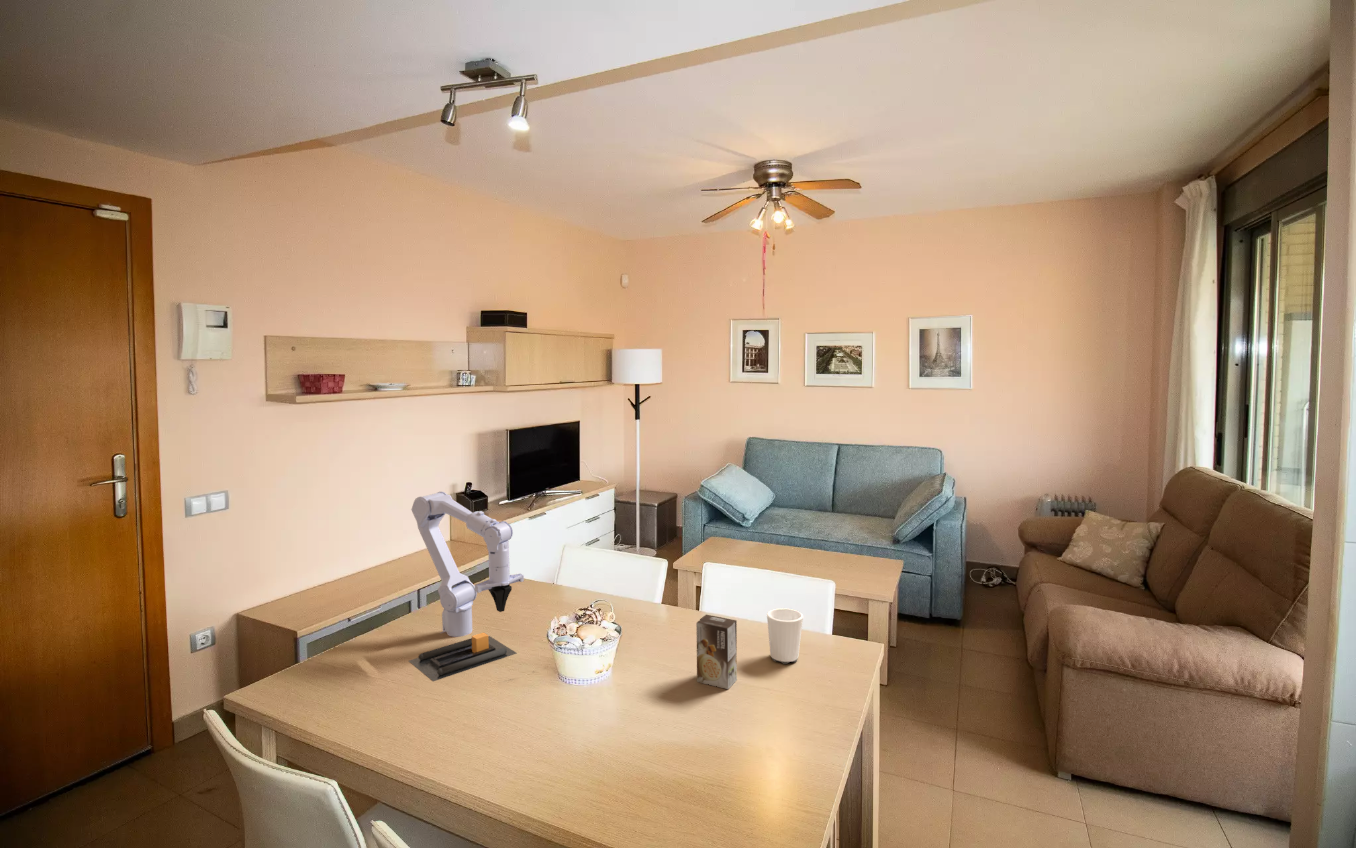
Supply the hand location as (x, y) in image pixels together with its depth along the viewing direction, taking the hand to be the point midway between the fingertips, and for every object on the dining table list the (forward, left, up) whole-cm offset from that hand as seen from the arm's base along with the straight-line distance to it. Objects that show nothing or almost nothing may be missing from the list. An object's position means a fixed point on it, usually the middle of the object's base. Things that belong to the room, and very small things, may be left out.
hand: (500, 610), depth 196 cm
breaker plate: (+3, -13, -10) cm, 17 cm away
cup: (+62, +53, -11) cm, 82 cm away
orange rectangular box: (+3, -8, -9) cm, 12 cm away
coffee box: (+58, +30, -11) cm, 66 cm away
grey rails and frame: (+3, -13, -9) cm, 16 cm away
